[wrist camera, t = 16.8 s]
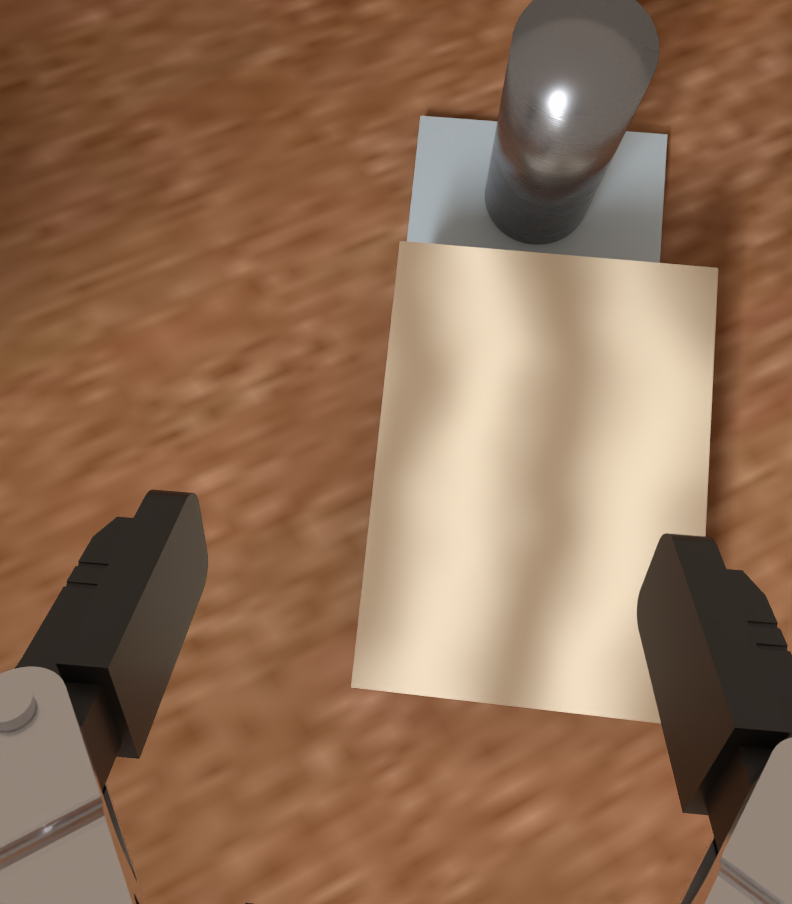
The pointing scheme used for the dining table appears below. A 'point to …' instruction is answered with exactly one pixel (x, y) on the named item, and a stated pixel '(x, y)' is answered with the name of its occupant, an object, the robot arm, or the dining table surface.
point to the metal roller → (565, 111)
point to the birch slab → (532, 473)
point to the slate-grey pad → (468, 224)
